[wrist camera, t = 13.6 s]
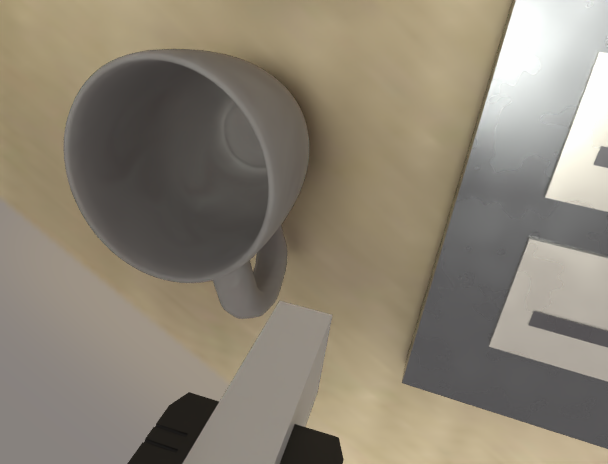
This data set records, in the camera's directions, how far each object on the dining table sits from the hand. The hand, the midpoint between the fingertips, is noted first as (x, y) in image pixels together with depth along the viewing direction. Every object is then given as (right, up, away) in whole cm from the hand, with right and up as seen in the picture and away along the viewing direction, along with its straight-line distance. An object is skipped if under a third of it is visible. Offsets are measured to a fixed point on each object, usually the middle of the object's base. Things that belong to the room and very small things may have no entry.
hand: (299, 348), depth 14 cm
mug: (-2, +7, +13) cm, 15 cm away
